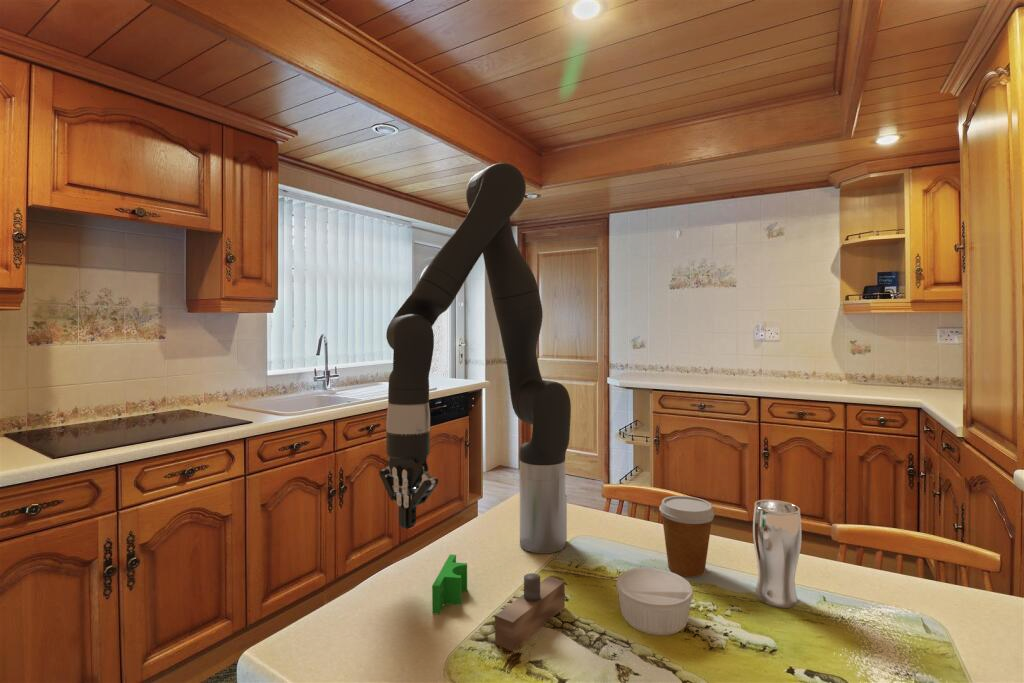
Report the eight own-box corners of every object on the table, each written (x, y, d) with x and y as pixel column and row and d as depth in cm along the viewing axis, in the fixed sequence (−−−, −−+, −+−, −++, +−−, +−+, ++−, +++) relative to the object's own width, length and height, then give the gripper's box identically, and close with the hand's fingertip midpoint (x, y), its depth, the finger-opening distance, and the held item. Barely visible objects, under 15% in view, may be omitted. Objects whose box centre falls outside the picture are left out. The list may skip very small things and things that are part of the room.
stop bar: (548, 600, 83) (548, 557, 83) (564, 606, 81) (564, 562, 81) (495, 644, 72) (495, 593, 71) (512, 651, 70) (512, 600, 70)
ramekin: (651, 649, 70) (651, 611, 70) (600, 610, 80) (601, 576, 80) (710, 627, 76) (710, 591, 76) (655, 593, 86) (655, 561, 85)
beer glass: (799, 593, 85) (799, 502, 85) (802, 613, 79) (803, 516, 79) (752, 584, 88) (753, 496, 88) (752, 604, 82) (753, 509, 82)
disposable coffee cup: (709, 586, 88) (710, 516, 87) (653, 573, 92) (653, 506, 92) (718, 564, 96) (718, 500, 96) (665, 553, 101) (666, 492, 100)
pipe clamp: (456, 616, 79) (456, 587, 79) (432, 615, 79) (432, 585, 79) (470, 580, 90) (470, 554, 90) (449, 579, 91) (449, 553, 90)
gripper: (451, 429, 90) (449, 529, 90) (398, 421, 98) (397, 513, 98) (419, 436, 84) (418, 542, 84) (366, 427, 92) (365, 524, 92)
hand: (407, 526), depth 91 cm, fingers closed
